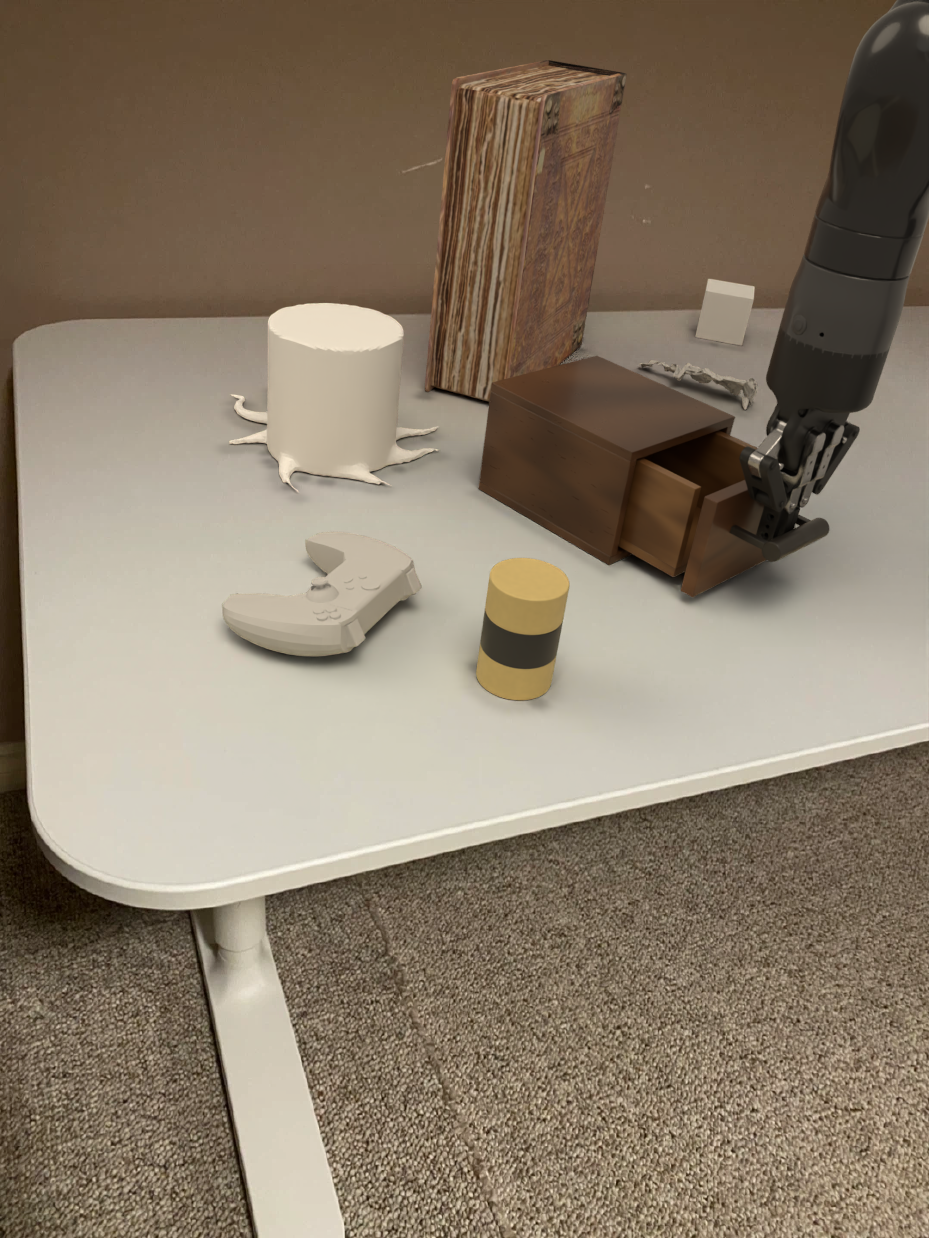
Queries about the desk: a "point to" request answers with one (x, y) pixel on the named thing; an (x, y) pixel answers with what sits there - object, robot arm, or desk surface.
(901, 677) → the desk surface
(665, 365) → the grey figurine
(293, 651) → the game controller
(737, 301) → the beige rectangular block
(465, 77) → the book
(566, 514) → the cabinet
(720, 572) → the drawer
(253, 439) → the tree stump
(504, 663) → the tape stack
